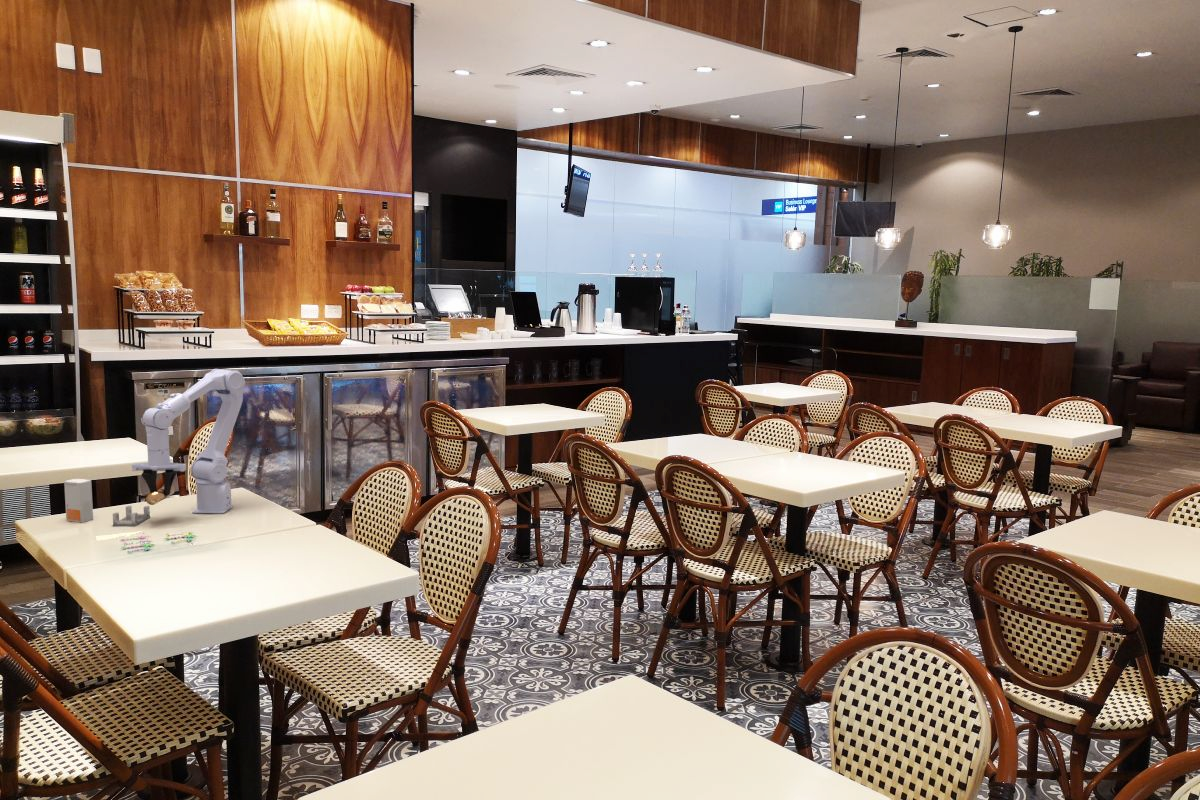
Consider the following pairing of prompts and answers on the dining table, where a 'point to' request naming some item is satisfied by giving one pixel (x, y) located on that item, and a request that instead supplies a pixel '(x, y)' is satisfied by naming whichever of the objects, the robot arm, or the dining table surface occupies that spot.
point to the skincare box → (78, 500)
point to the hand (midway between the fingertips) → (160, 495)
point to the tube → (158, 496)
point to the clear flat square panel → (140, 538)
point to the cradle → (131, 517)
